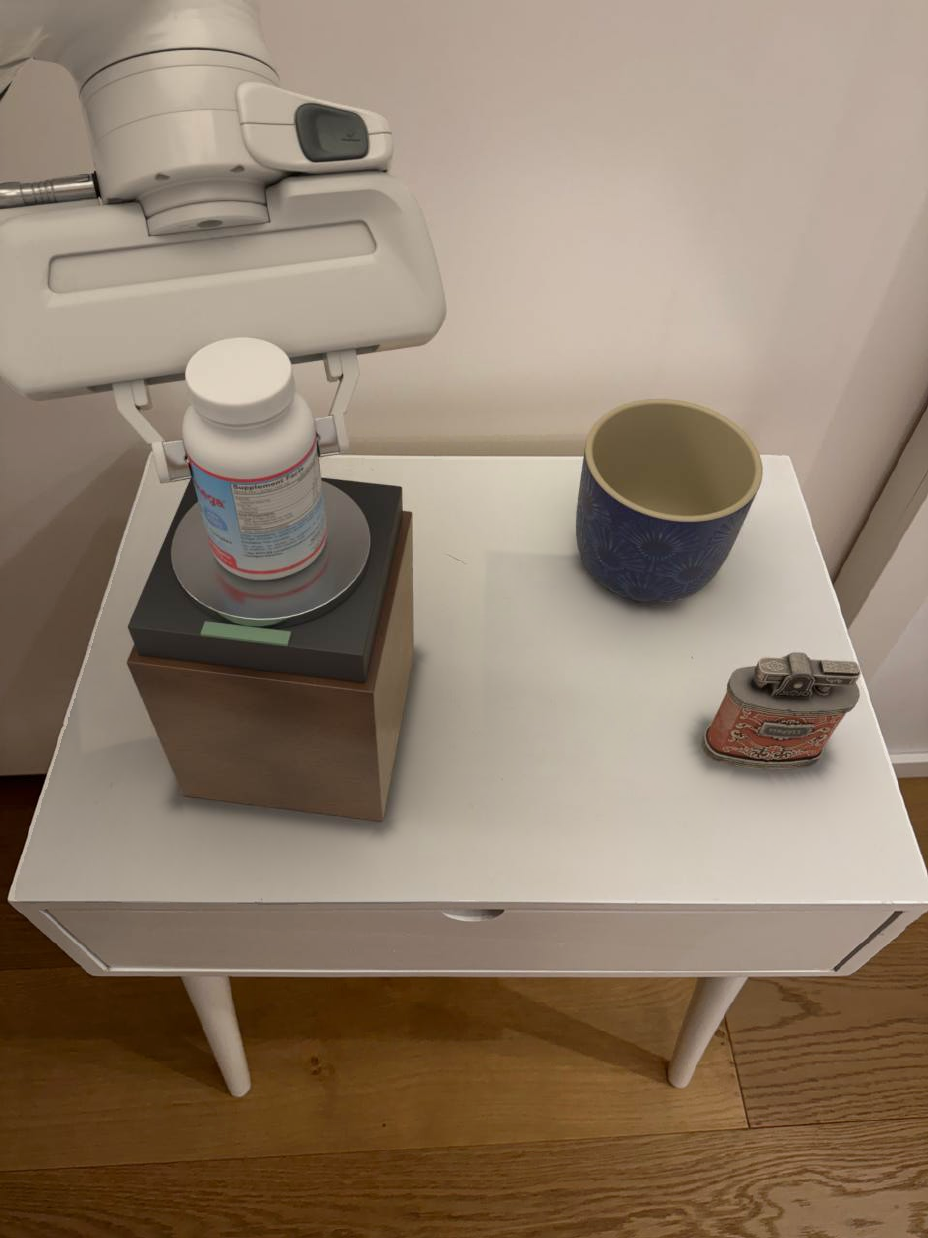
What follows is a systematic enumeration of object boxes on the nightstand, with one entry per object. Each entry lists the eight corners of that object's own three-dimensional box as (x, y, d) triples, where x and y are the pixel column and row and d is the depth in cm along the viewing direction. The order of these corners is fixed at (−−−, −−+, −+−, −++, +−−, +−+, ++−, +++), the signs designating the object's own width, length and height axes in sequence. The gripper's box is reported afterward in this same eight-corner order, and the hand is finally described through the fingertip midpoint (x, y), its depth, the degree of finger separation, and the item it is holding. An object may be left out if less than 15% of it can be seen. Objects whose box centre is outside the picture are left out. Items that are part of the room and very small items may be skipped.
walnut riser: (182, 796, 61) (125, 662, 49) (236, 635, 69) (198, 486, 57) (382, 822, 61) (373, 693, 49) (413, 656, 69) (412, 511, 57)
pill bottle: (203, 512, 51) (158, 337, 43) (315, 491, 53) (293, 316, 44) (220, 597, 48) (175, 425, 39) (339, 572, 49) (321, 400, 40)
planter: (736, 526, 78) (775, 422, 69) (706, 640, 70) (747, 541, 62) (589, 485, 80) (610, 380, 71) (546, 592, 73) (563, 490, 64)
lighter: (704, 766, 64) (745, 684, 56) (698, 723, 66) (736, 637, 58) (824, 772, 64) (881, 690, 56) (814, 728, 66) (868, 643, 58)
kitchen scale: (138, 655, 50) (122, 617, 47) (204, 493, 57) (193, 452, 54) (365, 683, 49) (362, 646, 46) (403, 516, 56) (402, 475, 54)
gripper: (-72, 162, 38) (11, 505, 40) (423, 114, 42) (476, 428, 44) (-28, 210, 44) (43, 505, 46) (401, 164, 48) (448, 438, 50)
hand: (258, 467), depth 45 cm, fingers closed on pill bottle, 6 cm apart
